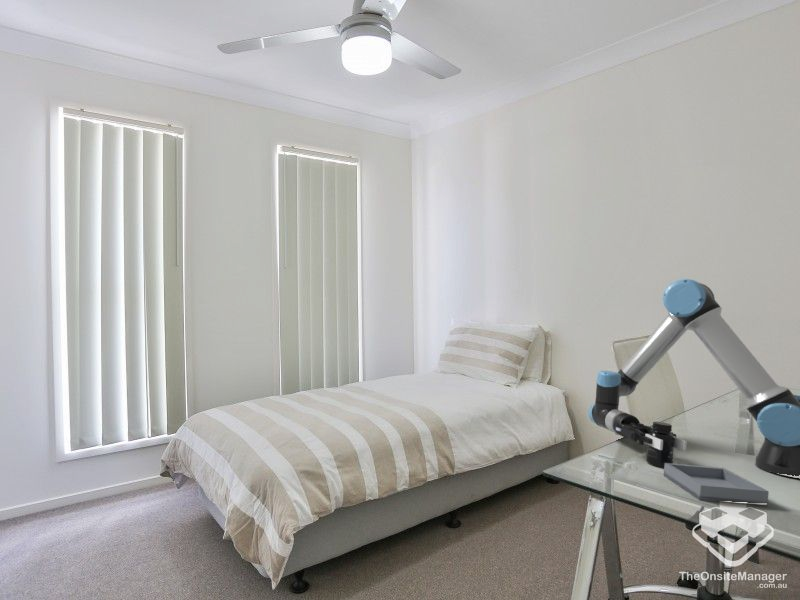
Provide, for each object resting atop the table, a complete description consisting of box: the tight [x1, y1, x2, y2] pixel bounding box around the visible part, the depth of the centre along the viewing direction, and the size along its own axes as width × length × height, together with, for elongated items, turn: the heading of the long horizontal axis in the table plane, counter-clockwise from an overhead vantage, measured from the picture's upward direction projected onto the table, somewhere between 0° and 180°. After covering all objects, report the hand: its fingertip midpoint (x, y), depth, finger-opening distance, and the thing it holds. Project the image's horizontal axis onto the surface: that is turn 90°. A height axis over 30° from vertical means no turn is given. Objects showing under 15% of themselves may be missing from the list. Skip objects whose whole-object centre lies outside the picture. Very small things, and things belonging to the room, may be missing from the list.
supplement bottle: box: [645, 421, 675, 469], centre depth 141 cm, size 7×7×12 cm
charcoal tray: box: [663, 463, 769, 503], centre depth 123 cm, size 16×16×4 cm
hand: (673, 445), depth 136 cm, fingers closed on supplement bottle, 7 cm apart
